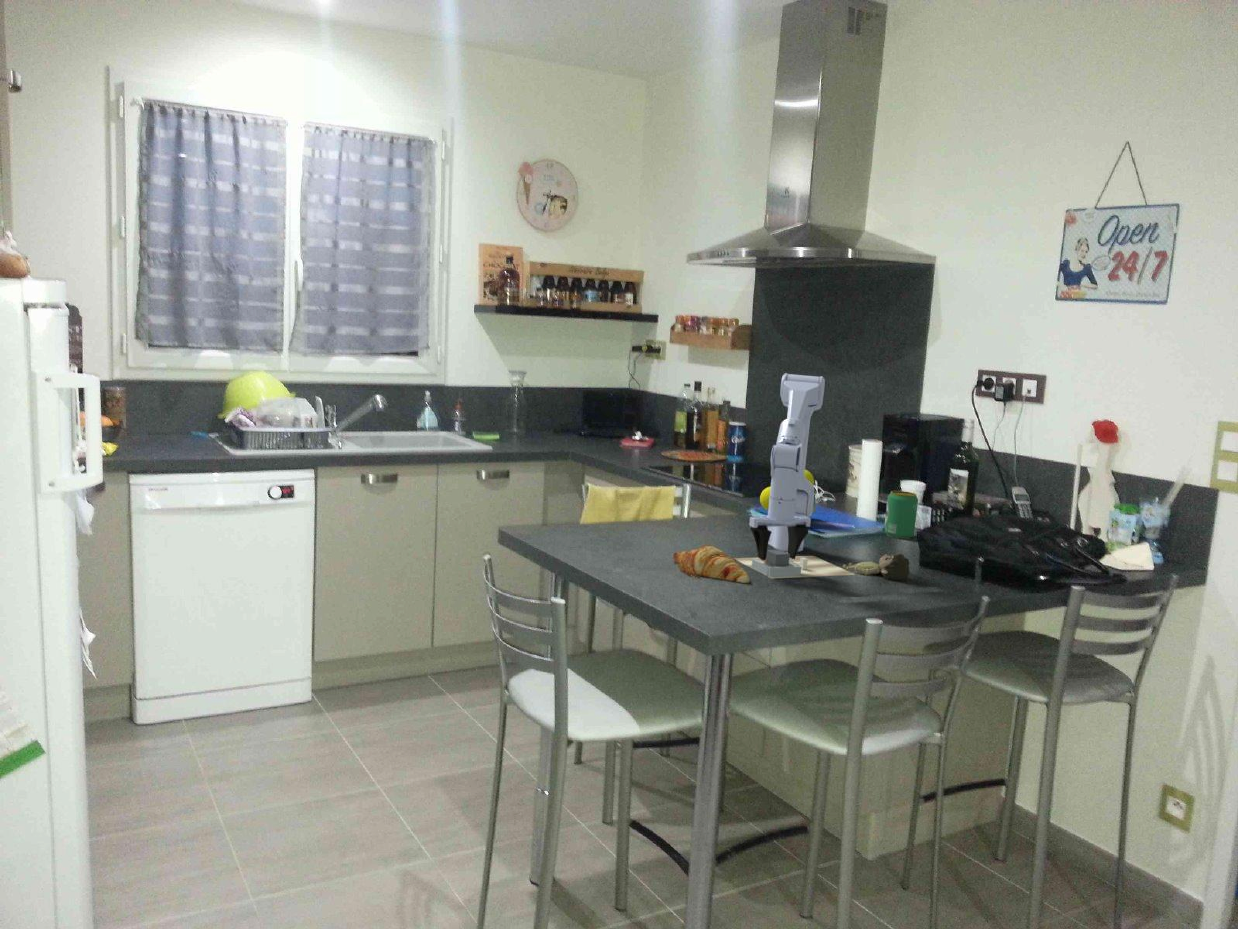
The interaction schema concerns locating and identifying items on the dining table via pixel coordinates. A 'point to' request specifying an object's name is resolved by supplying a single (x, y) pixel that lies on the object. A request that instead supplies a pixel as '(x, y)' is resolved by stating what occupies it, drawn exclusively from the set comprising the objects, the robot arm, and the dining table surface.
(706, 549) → the croissant
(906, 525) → the beverage can
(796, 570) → the end holder
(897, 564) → the figurine
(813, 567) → the board
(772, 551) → the block
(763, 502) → the toy
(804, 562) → the twin white cubes
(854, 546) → the dining table surface
